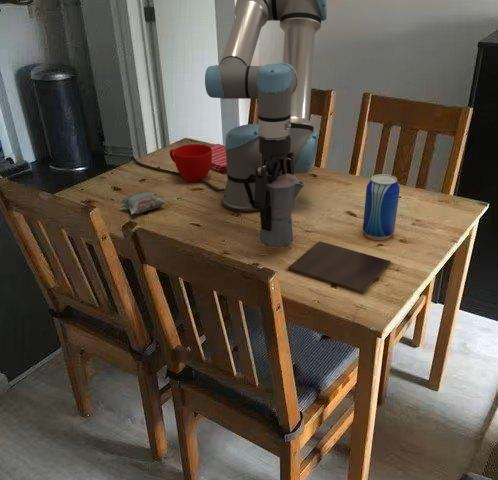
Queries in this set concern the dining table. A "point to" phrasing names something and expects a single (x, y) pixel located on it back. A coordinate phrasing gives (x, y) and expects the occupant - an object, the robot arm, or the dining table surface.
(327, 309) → the dining table surface
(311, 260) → the walnut trivet
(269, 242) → the moka pot
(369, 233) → the beer can
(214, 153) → the dish towel
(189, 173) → the ceramic cup
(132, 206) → the packaged food
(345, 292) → the dining table surface
